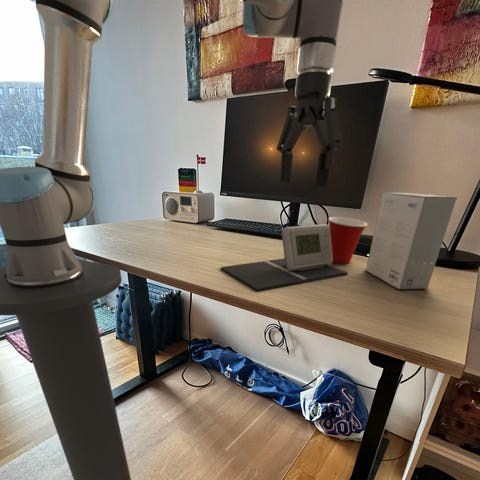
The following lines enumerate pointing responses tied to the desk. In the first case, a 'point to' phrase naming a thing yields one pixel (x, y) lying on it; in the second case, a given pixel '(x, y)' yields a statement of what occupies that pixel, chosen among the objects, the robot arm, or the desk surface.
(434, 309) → the desk surface
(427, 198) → the hard drive box
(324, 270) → the desk mat
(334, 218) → the plastic cup
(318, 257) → the digital clock
